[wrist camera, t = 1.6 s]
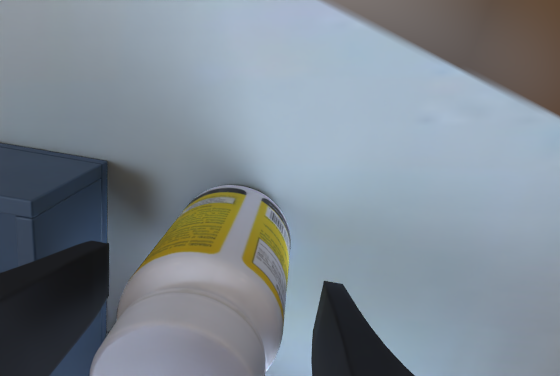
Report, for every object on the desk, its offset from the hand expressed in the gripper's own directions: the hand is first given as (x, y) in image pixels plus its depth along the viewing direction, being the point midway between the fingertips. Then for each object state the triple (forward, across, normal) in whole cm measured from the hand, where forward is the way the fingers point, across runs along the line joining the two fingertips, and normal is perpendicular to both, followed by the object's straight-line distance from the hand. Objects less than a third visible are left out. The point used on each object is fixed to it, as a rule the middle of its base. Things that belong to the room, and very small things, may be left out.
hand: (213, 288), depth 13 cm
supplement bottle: (+4, 0, 0) cm, 4 cm away
